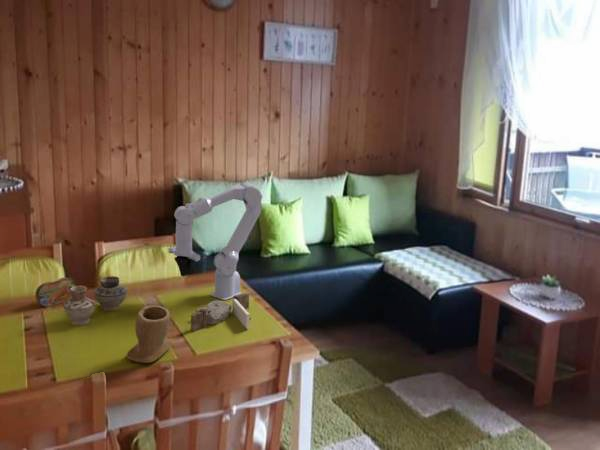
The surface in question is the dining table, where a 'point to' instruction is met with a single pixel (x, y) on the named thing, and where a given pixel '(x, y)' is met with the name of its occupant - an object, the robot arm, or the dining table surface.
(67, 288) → the tin
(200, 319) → the wooden plank
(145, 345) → the stone cup
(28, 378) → the dining table surface
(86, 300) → the pottery
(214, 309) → the stone
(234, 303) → the door
